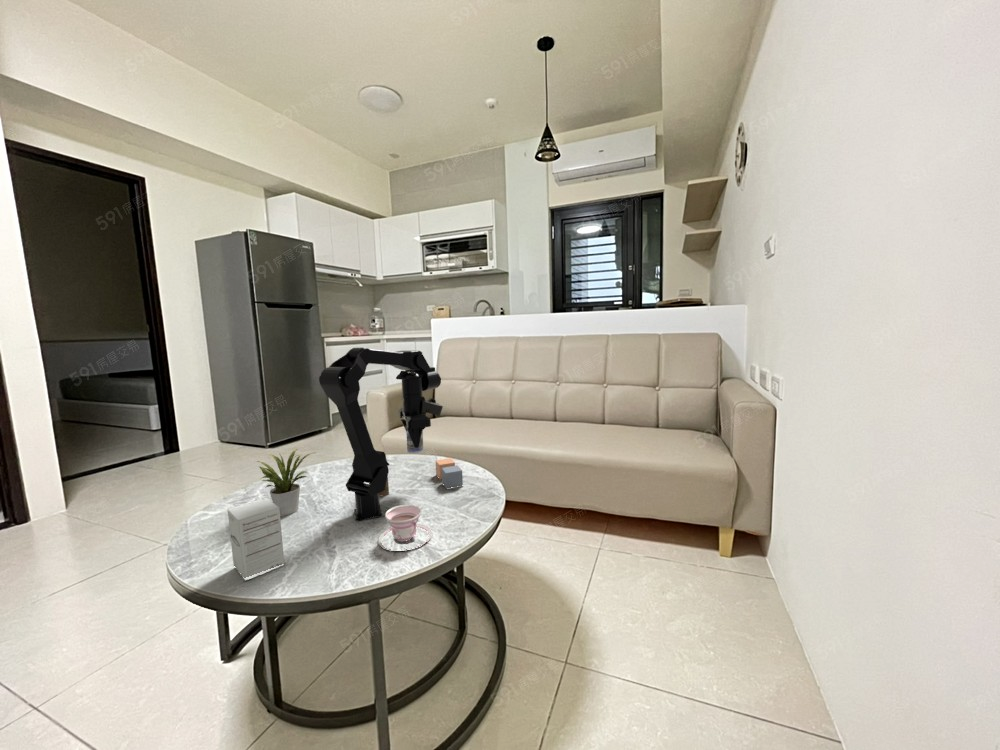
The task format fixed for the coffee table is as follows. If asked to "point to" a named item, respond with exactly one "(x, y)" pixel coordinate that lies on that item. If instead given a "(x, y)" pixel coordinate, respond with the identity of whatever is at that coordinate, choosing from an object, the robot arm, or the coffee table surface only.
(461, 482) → the slate-grey block
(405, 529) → the teacup
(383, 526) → the coffee table surface
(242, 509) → the supplement box
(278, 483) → the house plant
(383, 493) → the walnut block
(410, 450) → the pill bottle
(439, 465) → the terracotta block
